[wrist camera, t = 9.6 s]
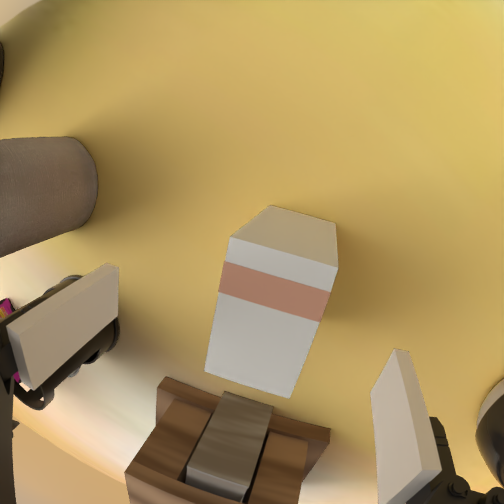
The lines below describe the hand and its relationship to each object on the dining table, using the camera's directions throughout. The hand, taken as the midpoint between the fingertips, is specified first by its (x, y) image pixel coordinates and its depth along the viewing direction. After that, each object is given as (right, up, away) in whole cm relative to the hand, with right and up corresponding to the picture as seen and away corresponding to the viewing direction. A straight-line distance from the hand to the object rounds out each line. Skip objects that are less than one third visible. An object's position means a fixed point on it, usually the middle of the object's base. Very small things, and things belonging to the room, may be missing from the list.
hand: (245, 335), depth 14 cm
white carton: (+3, +3, +11) cm, 12 cm away
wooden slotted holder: (-1, -17, +18) cm, 25 cm away
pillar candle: (-18, +11, +14) cm, 25 cm away
